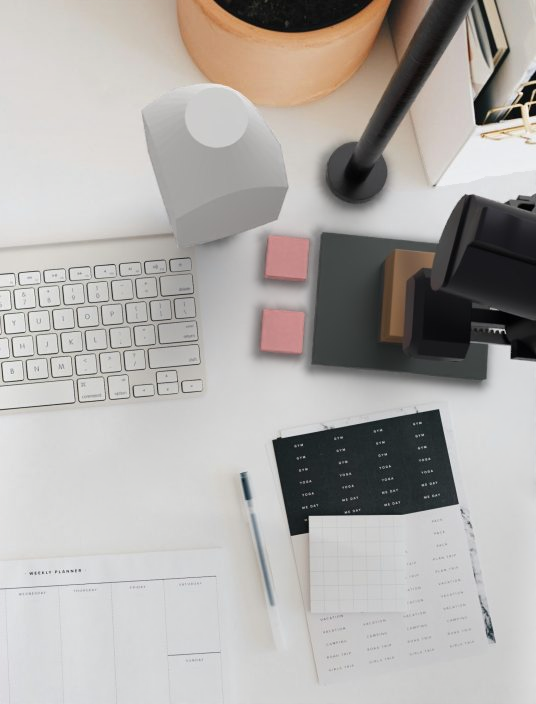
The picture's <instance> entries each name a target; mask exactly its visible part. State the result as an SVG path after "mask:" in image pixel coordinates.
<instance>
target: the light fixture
mask: <svg viewBox="0 0 536 704" xmlns="http://www.w3.org/2000/svg"><path fill="white" fill-rule="evenodd" d="M140 112H141V117H142V118H141V119H142V123H143V131H144V136H145V143H146V149H147V154H148V157H149V160H150V164H151V167H152V170H153V174H154V178H155V181H156V183H157V184H156V185H157V187H158V190H159V193H160V196H161V199H162V203H163V206H164V209H165V212H166V215H167V218H168V222H169V225H170V228H171V230H172V234H173V237H174V240H175V243H176V246H177V248H178V249H184V248H188V247H194V246H198V245H202V244H206V243H210V242H214V241H218V240H221V239H224V238H228V237H232V236H234V235H235V236H236V235H238V234H241V233H244V232H247V231H250V230H253V229H257V228H259V227H262V226H265V225H268V224H271V223H273V222H275V221H278V220H279V217H280V214H281V211H282V207H283V205H284V202H285V200H286V196H287V193H288V190H289V187H290V186H289V180H288V175H287V168H286V162H285V159H284V158H285V157H284V153H283V149H282V144H281V143H280V141H279V140H278V138H277V136H276V135H275V133H274V132H273V130H272V128H271V127H270V125H269V124H268V123H267V121H266V119H265V118H264V116H263V115H262V114H261V112H260V111H259V109H258V108H257V107H256V105H254V104H253V103H252V102H251V101H250V100H249V99H248V98H247V97H246V96H245V95H244V94H242V92H240V91H238V90H236V89H234V88H232V87H231V86H227V85H224V84H220V83H212V82H211V83H207V82H205V83H195V84H189V85H184V86H180V87H176V88H175V87H174V88H172V89H171V90H169V91H167V92H165V93H164V94H162V95H161V96H158V97H157V98H156V99H154V100H153V101H152V102H150V103H148V104H147V105H146V106H145V107H143V108H142V109H141V110H140Z"/></svg>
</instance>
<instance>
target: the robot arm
mask: <svg viewBox="0 0 536 704" xmlns="http://www.w3.org/2000/svg"><path fill="white" fill-rule="evenodd" d="M437 243H438V246H437V249H436V252H435V256H434V260H433V265H432V268H421V269H420V270H419V271H417V272H416V273H415V274H414V275H413V276H412V277H410V278H409V279H408V280H407V282H406V298H405V315H404V332H403V349H402V350H403V351H404V352H405V353H406V355H407V356H408V357H409V358H412V359H423V360H434V361H445V362H456V363H457V362H458V361H461V360H464V359H465V357H466V354H467V352H468V349H469V346H470V342H471V343H482V344H488V345H494V346H503V347H504V346H505V347H510V353H509V354H510V355H509V356H510V357H509V359H510V360H512V361H513V360H514V361H525V362H536V193H534V194H532V195H521V194H519V195H518V196H517V197H516V198H515V199H508V200H507V201H505V202H500V201H496V200H493V199H489V198H486V197H484V196H480V195H476V194H473V193H472V194H467V193H465V194H464V195H462V196H461V197H460V198H459V200H458V201H457V202H456V204H455V206H454V207H453V209H452V211H451V212H450V215H449V217H447V220H446V223H445V225H444V227H443V230H442V233H441V235H440V237H439V240H438V242H437ZM472 302H473V303H477V304H480V305H483V306H487V307H490V309H481V308H472ZM471 326H474V327H484V328H489V329H490V330H489V331H488V329H485V330H484V332H483V329H482V328H481V329H479V331H478V330H477V328H474V329H473V331H472V328H471ZM494 329H496V330H494Z"/></svg>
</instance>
